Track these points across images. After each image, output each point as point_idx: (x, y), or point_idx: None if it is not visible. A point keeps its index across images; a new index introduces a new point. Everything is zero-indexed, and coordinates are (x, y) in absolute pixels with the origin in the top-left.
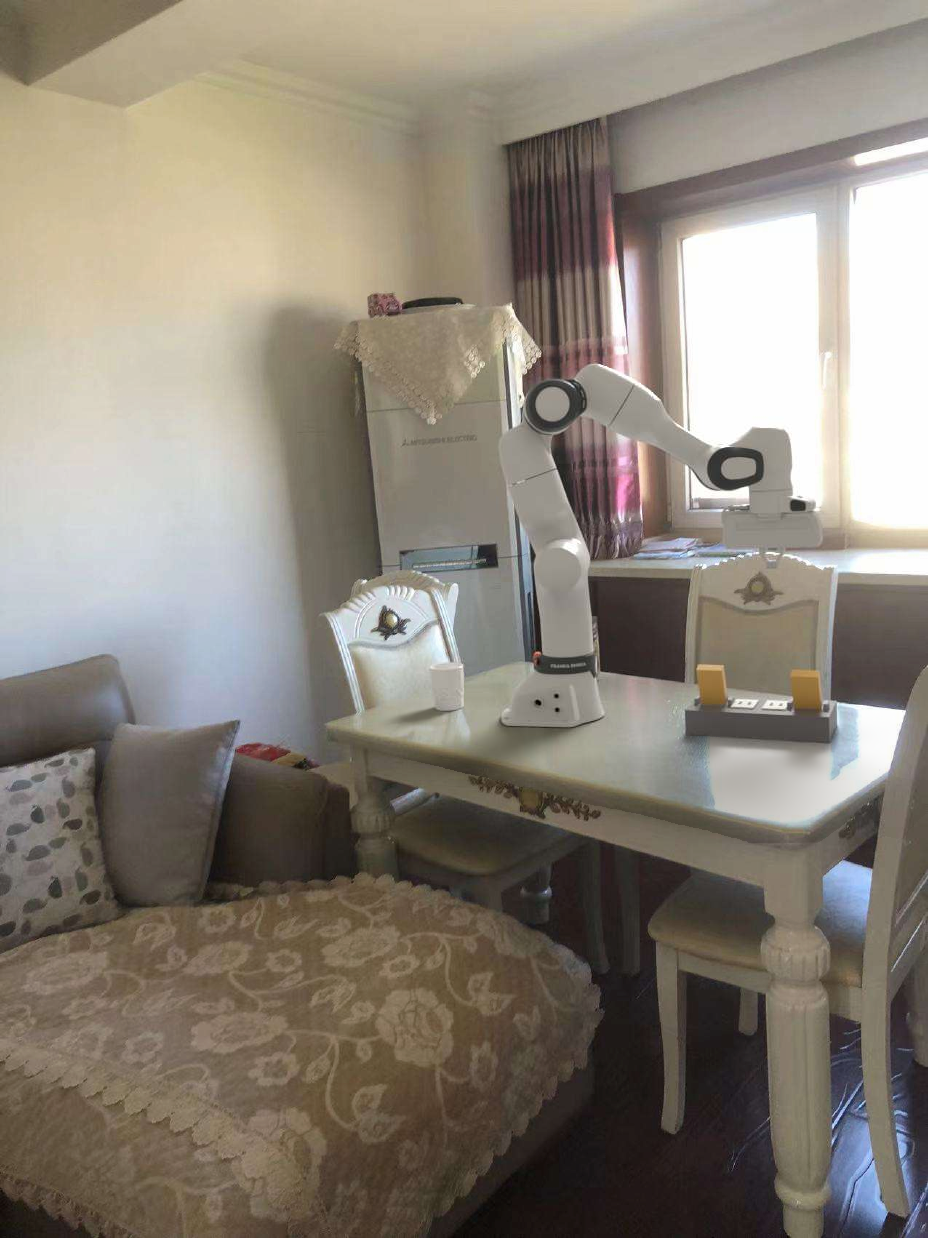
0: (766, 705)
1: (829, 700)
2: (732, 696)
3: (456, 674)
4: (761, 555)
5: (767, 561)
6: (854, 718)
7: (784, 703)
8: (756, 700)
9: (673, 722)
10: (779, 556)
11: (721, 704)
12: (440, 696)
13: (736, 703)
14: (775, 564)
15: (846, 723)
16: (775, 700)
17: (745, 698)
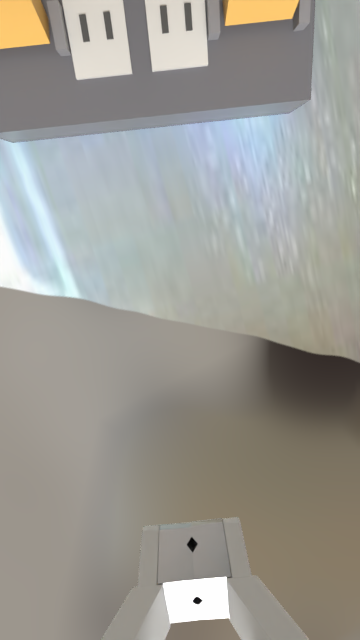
0: (116, 8)
1: (1, 132)
2: (214, 32)
3: None
4: (293, 634)
5: (228, 574)
6: (3, 206)
7: (81, 47)
8: (156, 60)
9: (340, 56)
10: (124, 633)
11: None
12: None
13: (196, 8)
14: (164, 553)
15: (3, 164)
16: (117, 94)
17: (192, 94)
